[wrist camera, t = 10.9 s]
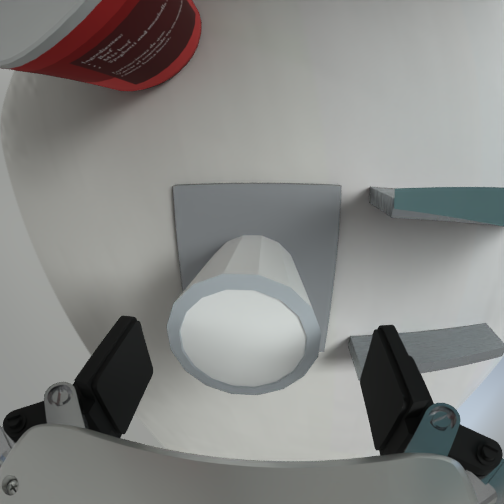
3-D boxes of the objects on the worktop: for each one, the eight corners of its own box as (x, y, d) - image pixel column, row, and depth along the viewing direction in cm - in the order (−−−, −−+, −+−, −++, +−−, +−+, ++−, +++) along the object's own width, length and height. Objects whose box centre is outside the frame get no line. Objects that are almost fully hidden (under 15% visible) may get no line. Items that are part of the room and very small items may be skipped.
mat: (175, 184, 18) (172, 185, 17) (339, 184, 17) (341, 186, 16) (192, 343, 22) (191, 347, 21) (323, 347, 21) (324, 351, 21)
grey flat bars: (370, 186, 17) (393, 198, 13) (516, 204, 16) (546, 217, 12) (348, 346, 21) (358, 380, 17) (482, 332, 20) (502, 355, 16)
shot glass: (266, 337, 20) (262, 413, 14) (182, 287, 19) (144, 352, 13) (328, 264, 18) (354, 328, 12) (236, 202, 17) (213, 239, 11)
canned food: (102, 9, 13) (2, -43, 3) (209, -13, 13) (153, -118, 2) (90, 102, 16) (-39, 94, 6) (201, 87, 15) (108, 24, 5)
